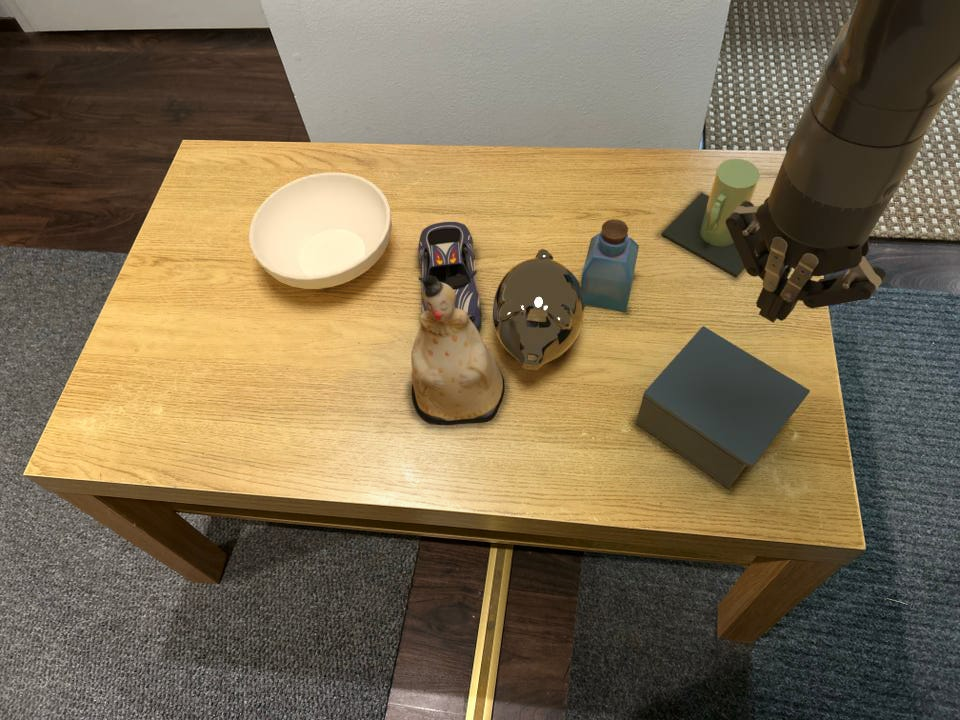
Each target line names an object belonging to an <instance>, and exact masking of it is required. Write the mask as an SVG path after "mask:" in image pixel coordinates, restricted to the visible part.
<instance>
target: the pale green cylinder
mask: <svg viewBox="0 0 960 720" xmlns="http://www.w3.org/2000/svg"><path fill="white" fill-rule="evenodd" d="M760 177H761V175H760V171H759V168H758V167H757V166H756V165H755V164H753V162H750V161H749V160H746V159H743V158H731V159H727V160H724V161H723V162H721V163H720V164H719V165H718V166H717V169H716V172H715V175H714V179H713V182H712V186H711V190H710V192H709V195H708V196H709V200H708V203H707V207H706V210H705V214H704V217H703V221H702V224H701V228H700V234H701V237H702V238H703V239H704V240H705V241H706V242H707V243H709V244H711V245H713V246H718V247H724V246H729V245H731V244H733V243H734V242H733V239H732V237H731V235H730V232H729V230H728V228H727V225H726V219H727V218H728V217H729V216H730V215H731V214H732V213H733V212H734V210H735V209H736V208H737V207H739V206H740V205H741V204H742V202H744V201H749V202H751V203H752V199H753V197H754V194H755V191H756V189H757V186H758V183H759V180H760Z"/></svg>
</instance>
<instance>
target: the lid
mask: <svg viewBox="0 0 960 720" xmlns="http://www.w3.org/2000/svg"><path fill="white" fill-rule="evenodd" d="M810 392H811V390H810V389H808V388H807V387H805V386H804V385H802V384H800V383H798V382H797V381H796V380H793V379H792V378H790V377H789V376H787V375H785V374H784V373H782V372H781V371H779V370H777V369H776V368H774V367H773V366H770V365H769V364H767V363H765V361H762V360H761V359H759V358H757V357H755V356H754V355H752V354H751V353H749V352H747V351H745V350H744V349H743V348H741V347H739V346H738V345H736V344H734V343H733V342H730V341H729V340H727V339H726V338H724V337H722V336H721V335H719V334H718V333H716V332H714V331H713V330H711V329H709V328H708V327H706V326H704V325H702V326H701V327H700V328H699V330H697V332H696V333H695V334H694V335H693V336H692V337H691V338H690V340H689V341H688V342H687V343H686V344H685V345H684V347H683V348H682V349H681V350H680V351H679V352H678V353H677V354H676V355H675V357H674V358H672V360H671V361H670V362H669V363H668V365H666V367H665V368H664V369H663V370H662V371H661V372H660V373H659V374H658V376H657V377H656V378H655V379H654V380H653V382H652V383H650V385H649V386H648V387H647V388H646V389H645V391H644V392H643V394H642V397H643V396H644V397H645V398H647V399H648V400H650V401H651V402H653V403H654V404H656V405H657V406H659V407H660V408H662V409H663V410H665V411H666V412H668V413H669V414H670V415H672V416H673V417H675V418H676V419H678V420H679V421H681V422H682V423H684V424H685V425H687V426H688V427H690V428H691V429H693V430H694V431H695V432H697V433H698V434H700V435H701V436H703V437H704V438H706V439H707V440H709V441H710V442H712V443H713V444H715V445H716V446H718V447H719V448H720V449H722V450H723V451H725V452H726V453H728V454H729V455H731V456H732V457H734V458H735V459H737V460H738V461H740V462H741V463H743V464H744V465H745V466H746V467H747V468H748V469H749V470H751V469H752V468H753V467H755V464H756V463H757V462H758V461H759V459H760V458H761V457H762V455H763V454H764V453H765V451H766V450H767V449H768V448H769V446H770V445H771V444H772V442H773V441H774V440H775V439H776V437H777V436H778V434H779V433H780V431H781V430H782V429H783V428H784V426H786V424H787V423H788V421H789V420H790V419H791V418H792V417H793V415H794V414H795V412H796V411H797V410H798V409H799V407H800V405H802V403H803V402H804V400H805V399H806V398H807V396H808V395H809V394H810Z"/></svg>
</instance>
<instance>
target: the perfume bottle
mask: <svg viewBox="0 0 960 720" xmlns="http://www.w3.org/2000/svg"><path fill="white" fill-rule="evenodd" d="M628 232H629V227H628V225H627V223H626V222H624V221H623V220H621V219H618V218H617V219H615V218H612V219H608V220H606V221H605V222H604V223H603V224H602V225H601V230H600V232H599V233H597V234H596V235H594V236H593V237H591V238H590V241H589V245H588V249H587V254H586V256H585V261H584V265H583V269H582V272H581V281H580V286H581V289H582V292H583V296H584V306H589V307H595V308H599V309H605V310H612V311H618V312H623V313H627V309H628V306H629V305H628V304H629V301H630V300H629V299H630V297H631V290H632V286H633V280H634V275H635V269H636V264H637V259H638V253H639V248H640V245H639V244H638V243H637V242H636V241H635V240H634V239H633V238H632V237H629V233H628Z"/></svg>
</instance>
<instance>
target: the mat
mask: <svg viewBox="0 0 960 720" xmlns="http://www.w3.org/2000/svg"><path fill="white" fill-rule="evenodd" d="M709 196H710V195H707V194H705V193H704V192H700V193H699V195H697V197H695V198H694V200H692V201H691V202H690V204H689V205H688V206H687V207H686V208H685V209H684V210H683V211H682V212H681V213H680V214H679V215H678V216H677V217H675V219H674V220H672V222H671V223H670V224H668V226H667V227H666V228H665V229H664V230H663V231H662V232H661V234H660V235H661V236H662V237H664V238H666V239H667V240H669V241H671V242H672V243H674V244H676V245H678V246H679V247H682V248H683V249H685V250H687V251H689V253H692V254H693V255H696V256H698V257H699V258H701V259H703V260H704V261H706V262H708V263H709V264H711V265H713V266H715V267H716V268H719V269H721V270H723V272H726V273H727V274H730V276H733V277H735V278H737V277H738V276H739V275H740V274H741V273H742V272H743V270H744V269H745V267H744V265H743V262H742V260H741V258H740V255H739V253H738V251H737V248H736V246H735V244H734V243H733V244H731V245H729V246H724V247H718V246H713V245H711V244H709V243H707V242H706V241H705V240H704V239H703V238H702V237H701V234H700V228H701V224H702V221H703V217H704V214H705V210H706V207H707V203H708V200H709ZM755 254H756V256H757V252H756V250H755Z"/></svg>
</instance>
